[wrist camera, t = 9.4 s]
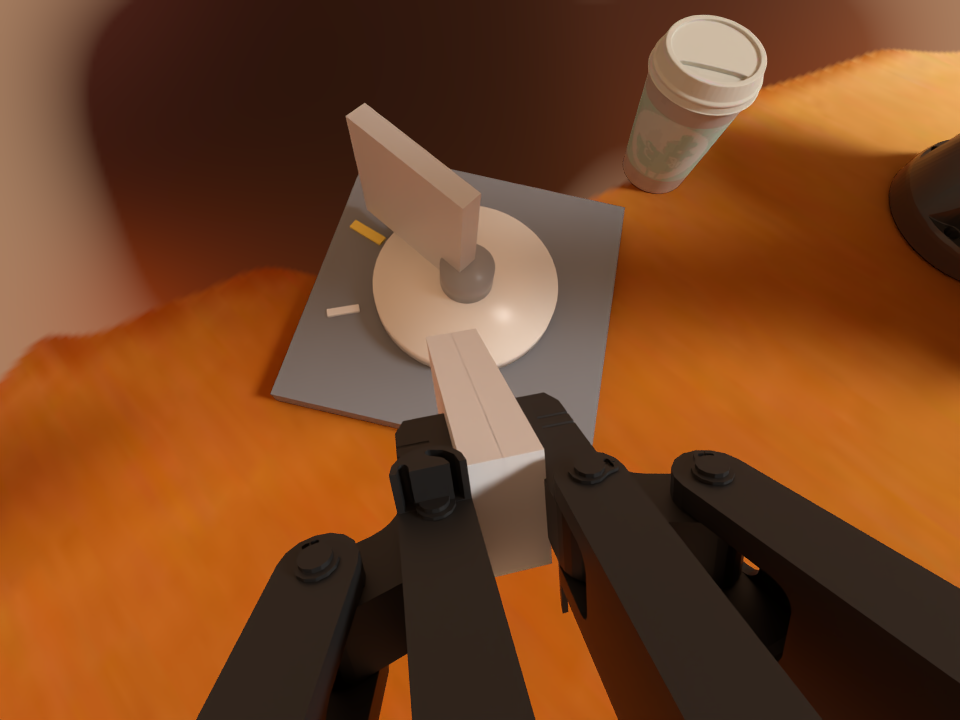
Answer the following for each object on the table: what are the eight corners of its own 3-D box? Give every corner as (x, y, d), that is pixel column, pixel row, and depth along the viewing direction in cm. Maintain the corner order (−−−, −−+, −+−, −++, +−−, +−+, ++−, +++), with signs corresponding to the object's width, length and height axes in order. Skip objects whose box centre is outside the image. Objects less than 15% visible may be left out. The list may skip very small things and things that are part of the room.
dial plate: (619, 218, 45) (625, 206, 43) (583, 471, 36) (590, 467, 35) (370, 163, 45) (367, 149, 44) (276, 400, 37) (269, 393, 35)
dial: (589, 288, 40) (635, 201, 30) (470, 412, 36) (480, 356, 26) (436, 168, 43) (433, 56, 34) (310, 267, 39) (265, 171, 29)
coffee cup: (589, 165, 47) (634, 42, 36) (646, 121, 49) (705, -6, 38) (659, 222, 45) (729, 111, 34) (715, 173, 48) (797, 55, 36)
